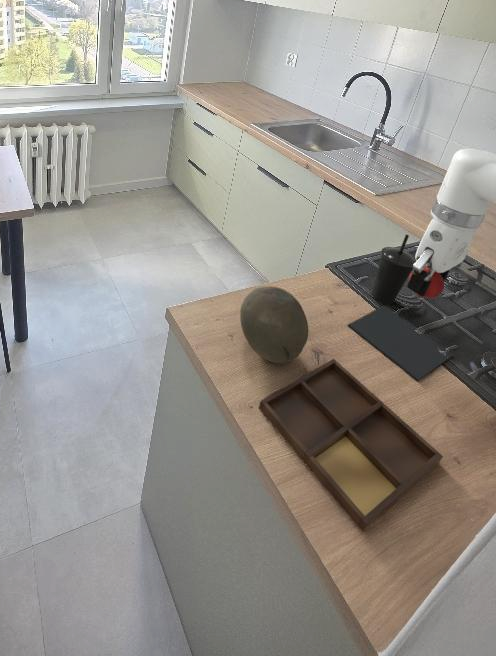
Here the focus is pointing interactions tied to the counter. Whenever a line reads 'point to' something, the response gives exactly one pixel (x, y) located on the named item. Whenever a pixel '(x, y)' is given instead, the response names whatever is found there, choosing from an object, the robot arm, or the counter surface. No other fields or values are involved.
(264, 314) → the grey-brown oval ball
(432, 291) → the onion
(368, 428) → the tray
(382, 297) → the drinking cup
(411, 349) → the mat
